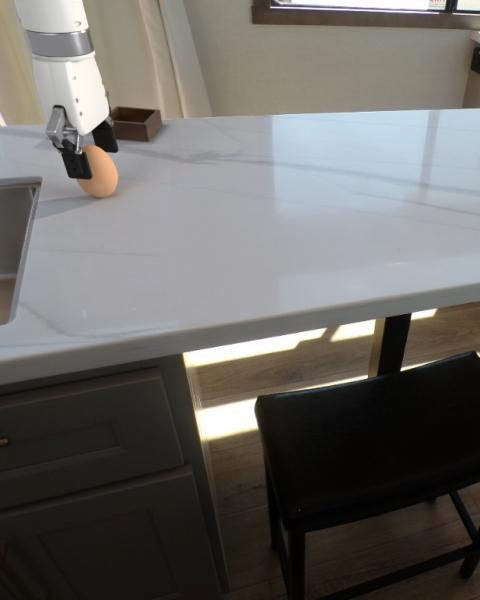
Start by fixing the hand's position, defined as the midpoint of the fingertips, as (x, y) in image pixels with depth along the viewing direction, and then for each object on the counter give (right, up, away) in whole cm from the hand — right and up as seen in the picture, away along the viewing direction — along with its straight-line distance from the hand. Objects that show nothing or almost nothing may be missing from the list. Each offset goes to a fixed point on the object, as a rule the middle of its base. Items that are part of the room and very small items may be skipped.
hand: (95, 164), depth 79 cm
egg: (-1, -4, +3) cm, 6 cm away
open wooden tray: (-6, +13, +24) cm, 28 cm away
